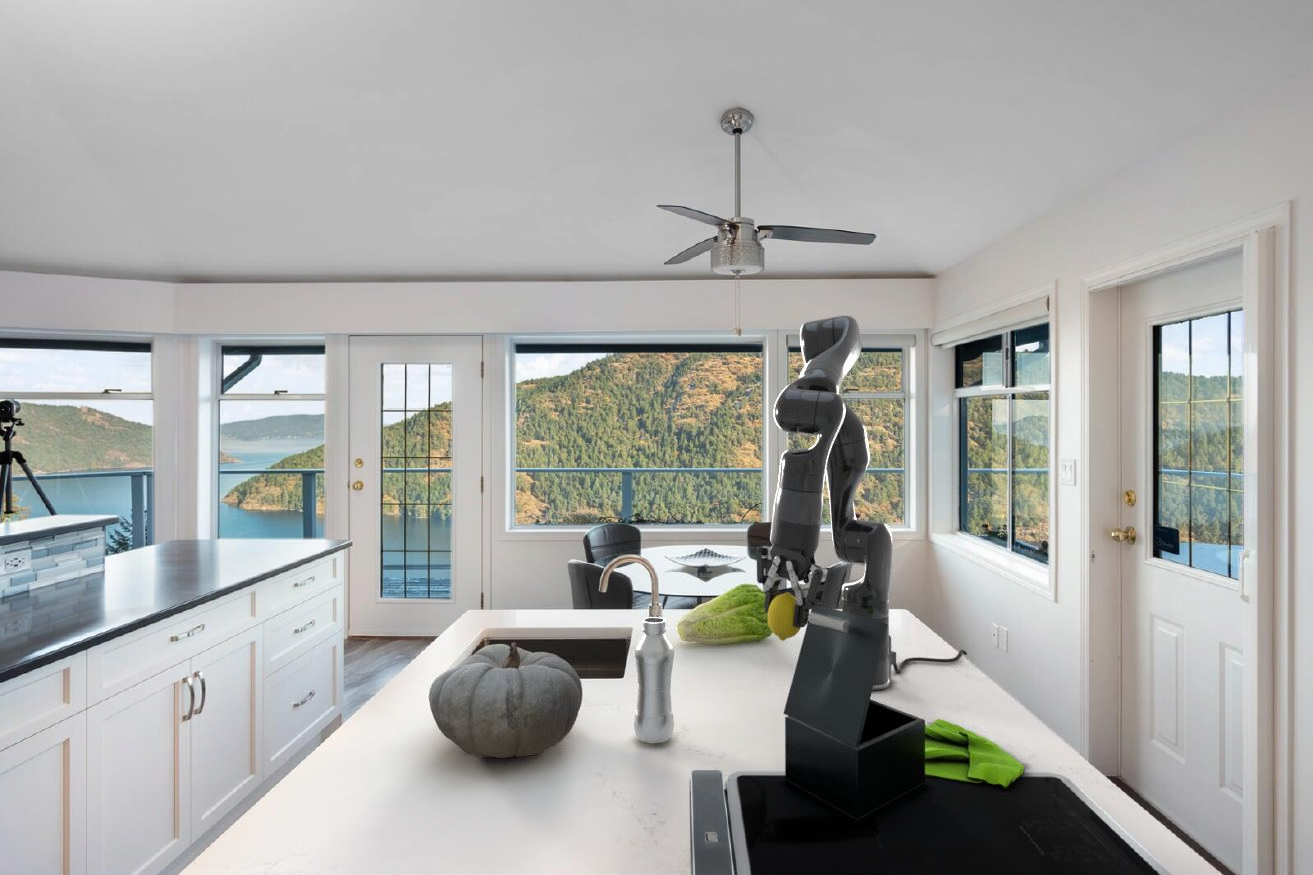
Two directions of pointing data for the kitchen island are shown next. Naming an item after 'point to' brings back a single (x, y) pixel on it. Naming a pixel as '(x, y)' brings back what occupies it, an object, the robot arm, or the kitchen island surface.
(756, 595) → the lettuce
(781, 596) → the lemon
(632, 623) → the kitchen island surface
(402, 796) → the kitchen island surface
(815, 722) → the caddy lid
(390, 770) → the kitchen island surface
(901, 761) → the box
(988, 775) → the cloth
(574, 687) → the gourd
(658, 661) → the silver bottle
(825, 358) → the robot arm
